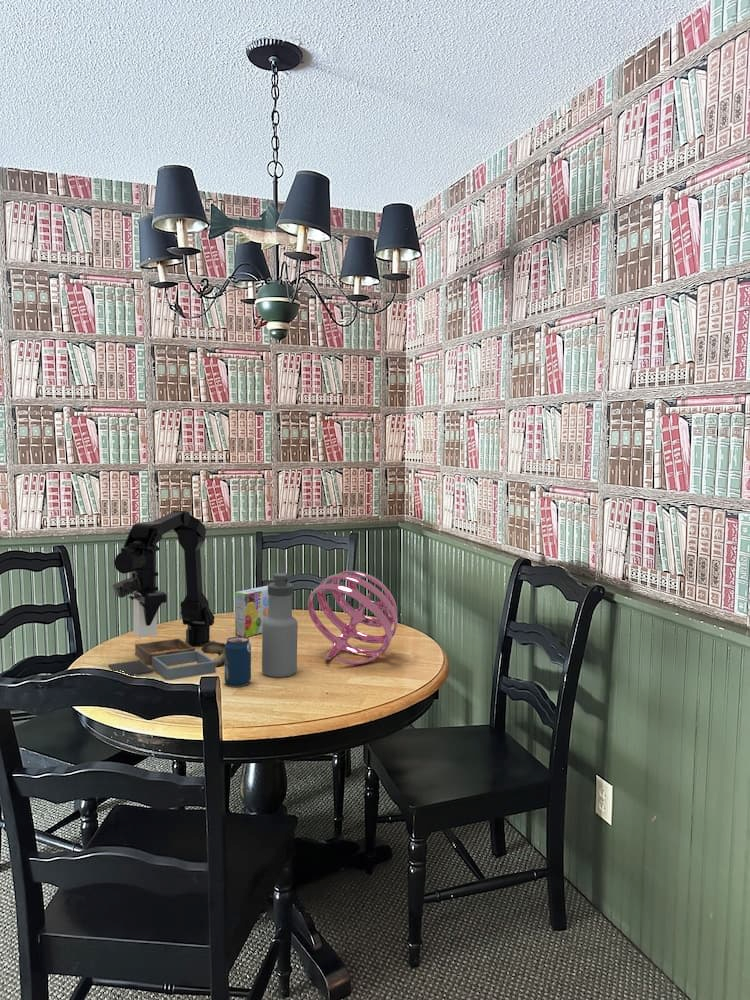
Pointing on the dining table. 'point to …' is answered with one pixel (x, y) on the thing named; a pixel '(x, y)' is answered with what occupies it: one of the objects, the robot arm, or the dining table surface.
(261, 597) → the snack box
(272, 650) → the water bottle
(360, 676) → the dining table surface
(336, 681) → the dining table surface
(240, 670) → the soda can
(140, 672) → the dark grey flat slab
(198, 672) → the frame
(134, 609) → the letter block
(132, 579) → the robot arm
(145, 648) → the frame
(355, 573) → the spiral basket
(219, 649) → the eagle figurine
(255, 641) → the dining table surface
